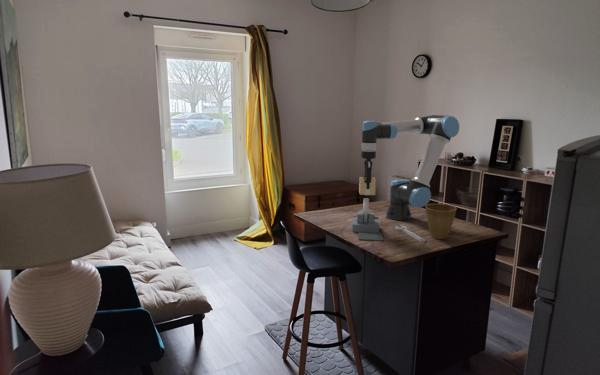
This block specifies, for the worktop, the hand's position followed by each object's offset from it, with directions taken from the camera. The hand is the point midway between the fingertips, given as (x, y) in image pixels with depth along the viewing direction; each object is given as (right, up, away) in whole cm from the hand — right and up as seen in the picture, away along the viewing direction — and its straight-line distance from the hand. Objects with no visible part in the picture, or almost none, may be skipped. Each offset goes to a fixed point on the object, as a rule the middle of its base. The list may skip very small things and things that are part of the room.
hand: (366, 193), depth 207 cm
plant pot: (+36, -23, -7) cm, 43 cm away
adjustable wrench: (+21, -22, -4) cm, 31 cm away
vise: (0, -20, +4) cm, 20 cm away
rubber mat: (0, -22, -9) cm, 24 cm away
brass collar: (0, 0, 0) cm, 0 cm away
